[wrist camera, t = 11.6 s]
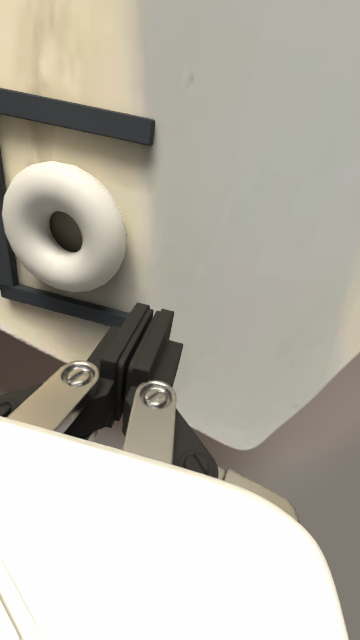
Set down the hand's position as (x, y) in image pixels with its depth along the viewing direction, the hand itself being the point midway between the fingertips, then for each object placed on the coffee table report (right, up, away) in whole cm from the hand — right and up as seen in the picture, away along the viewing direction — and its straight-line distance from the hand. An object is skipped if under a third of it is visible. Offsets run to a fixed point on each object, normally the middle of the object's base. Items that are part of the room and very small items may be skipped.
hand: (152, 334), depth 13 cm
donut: (-7, +9, +12) cm, 16 cm away
